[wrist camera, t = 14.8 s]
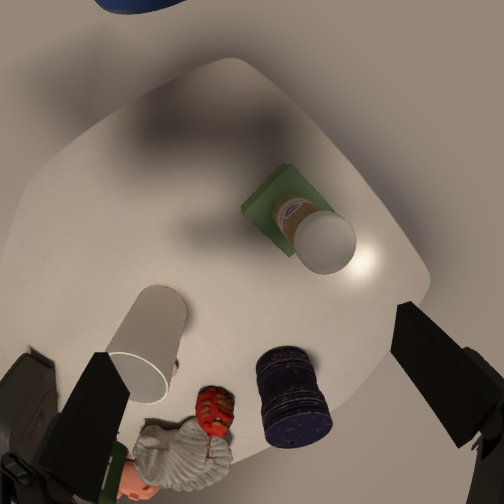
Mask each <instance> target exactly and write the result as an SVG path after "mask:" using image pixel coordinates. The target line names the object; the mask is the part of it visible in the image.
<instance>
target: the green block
mask: <svg viewBox="0 0 504 504" xmlns="http://www.w3.org/2000/svg"><path fill="white" fill-rule="evenodd" d="M288 194H295V195H299V196H301V197H302V198H304V199H306V200H308V201H310V202H312V203H314V204H316V205H317V206H318V207H320V208H322V209H324V210H326V211H330V212H333V213H334V212H335V211H334V210H333V209H332V208H331V207H330V205H329V204H328V203H327V202H326V201H325V200H324V199H323V198H322V197H321V196H320V194H319V193H318V192H317V191H316V190H315V189H314V188H313V187H312V186H311V185H310V184H309V183H308V182H307V181H306V179H305V178H304V177H303V176H302V175H301V174H300V173H299V172H298V171H297V170H296V169H295V168H294V167H293V166H292V165H291V164H282V165H281V166H280V167H279V168H278V169H277V170H276V171H275V172H274V173H273V174H272V175H271V176H270V177H269V178H268V179H267V180H266V181H265V182H264V183H263V184H262V185H261V186H260V187H259V188H258V189H257V190H256V191H255V192H254V193H253V195H252V196H251V197H250V198H249V199H248V200H247V201H246V202H245V203H244V204H243V205H242V206H241V210H242V214H243V215H245V216H246V217H247V218H248V219H249V220H250V221H251V222H252V223H253V224H254V225H255V226H256V227H257V228H259V229H260V230H261V231H262V232H263V233H264V234H265V235H266V236H267V237H268V238H269V239H270V240H271V241H272V242H273V243H275V244H276V245H277V246H278V247H279V248H280V249H281V250H282V251H283V252H284V253H285V254H286V255H287V256H288V257H290V256H292V255H293V254H294V253H295V252H296V251H295V248H294V247H293V246H292V245H291V244H290V242H289V241H288V239H287V238H286V237H285V235H284V234H283V233H282V231H281V230H280V228H279V227H278V226H277V225H276V224H275V222H274V220H273V215H272V212H273V207H274V205H275V203H276V201H277V200H278V199H279V198H281V197H283V196H285V195H288Z"/></svg>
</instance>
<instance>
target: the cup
mask: <svg viewBox="0 0 504 504" xmlns="http://www.w3.org/2000/svg"><path fill="white" fill-rule="evenodd" d="M186 316H187V309H186V305H185V303H184V301H183V299H182V298H181V296H180V295H179V294H178V293H176V292H175V291H173V290H172V289H170V288H167V287H164V286H151V287H148V288H146V289H144V290H143V291H142V292H141V293H140V294H139V296H138V298H137V299H136V301H135V302H134V304H133V305H132V307H131V309H130V310H129V312H128V313H127V315H126V317H125V318H124V320H123V322H122V323H121V325H120V327H119V328H118V330H117V332H116V333H115V335H114V337H113V338H112V340H111V342H110V344H109V345H108V347H107V349H106V351H105V352H108V354H109V356H110V358H111V360H112V362H113V363H114V365H115V367H116V369H117V371H118V373H119V374H120V376H121V378H122V380H123V382H124V383H125V385H126V387H127V388H128V390H129V392H130V396H129V399H128V401H130V402H133V403H138V404H154V403H158V402H160V401H161V400H163V399H164V398H165V397H166V395H167V393H168V390H169V386H170V382H171V377H172V373H173V369H174V364H175V360H176V356H177V352H178V348H179V344H180V340H181V336H182V332H183V328H184V324H185V320H186Z"/></svg>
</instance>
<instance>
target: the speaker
mask: <svg viewBox="0 0 504 504" xmlns="http://www.w3.org/2000/svg"><path fill="white" fill-rule="evenodd" d="M56 411H57V400H56V385H55V372H54V370H53V369H52V368H48V367H46V366H45V365H43V364H42V363H40V362H39V361H37V360H36V359H34V358H33V357H32V355H30V354H29V353H24V354H22V355H21V356H20V357H19V358H18V359H17V361H16V362H15V363H14V364H13V365H12V367H11V368H10V369H9V370H8V372H7V373H6V374H5V376H4V377H3V378H2V380H1V381H0V457H2V456H3V454H5V453H6V452H8V451H14V452H17V453H18V454H19V455H20V456H21V457H22V458H23V459H24V460H25V461H26V462H27V463H29V464H30V463H31V461H32V459H33V457H34V454H35V452H36V450H37V448H38V446H39V443H40V441H41V439H42V438H43V435H44V433H45V431H47V427H48V425H49V423H50V421H51V419H52V418H53V417H54V416H55V415H56Z"/></svg>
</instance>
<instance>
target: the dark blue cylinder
mask: <svg viewBox="0 0 504 504" xmlns="http://www.w3.org/2000/svg"><path fill="white" fill-rule="evenodd" d="M256 374H257V386H258V390H259V394H260V396H261V400H262V407H261V416H262V423H263V427H264V432H265V439H266V441H267V442H268V443H269V444H270V445H272V446H274V447H277V448H283V449H290V448H299V447H304V446H307V445H310V444H312V443H315V442H317V441H318V440H320V439H322V438H323V437H325V436H326V435H327V434H328V433H329V432H330V430H331V429H332V426H333V421H332V418H331V416H330V413H329V409H328V406H327V403H326V401H325V397H324V395H323V394H322V392H321V391H320V390H319V388H318V385H317V379H316V376H315V372H314V369H313V366H312V364H311V363H310V361H309V358H308V356H307V354H306V353H305V352H304V351H303V350H302V349H300V348H297V347H293V346H281V347H277V348H274V349H271V350H269V351H268V352H266V353H265V354H263V355H262V356H261V357H260V359H259V360H258V362H257V365H256Z"/></svg>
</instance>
